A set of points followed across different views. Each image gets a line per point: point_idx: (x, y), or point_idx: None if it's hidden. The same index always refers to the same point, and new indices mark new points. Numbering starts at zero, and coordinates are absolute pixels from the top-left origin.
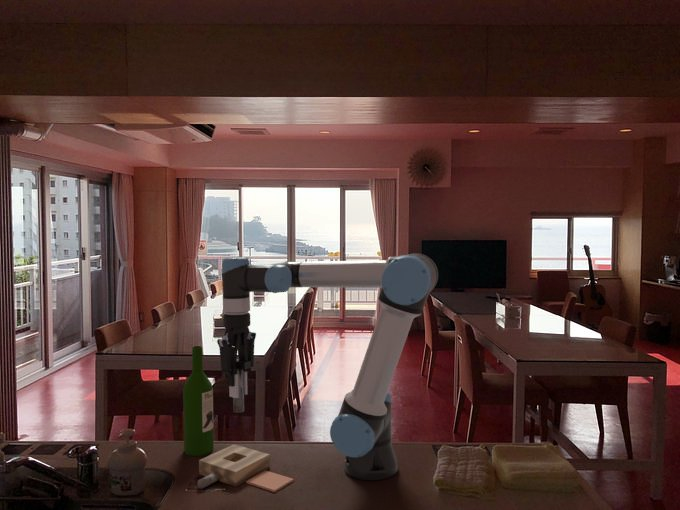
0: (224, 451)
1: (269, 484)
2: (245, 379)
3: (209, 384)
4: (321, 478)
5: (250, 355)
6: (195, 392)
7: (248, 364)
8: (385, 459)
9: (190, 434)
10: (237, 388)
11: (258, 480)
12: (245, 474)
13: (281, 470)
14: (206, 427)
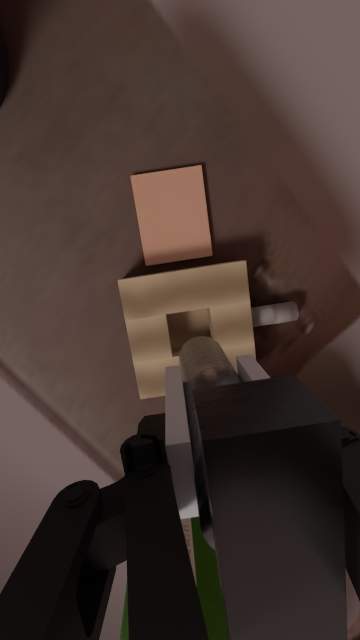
0: None
1: (189, 199)
2: (184, 406)
3: None
4: (72, 131)
5: (49, 636)
6: (219, 613)
7: (241, 409)
8: None
9: None
10: (257, 375)
11: (192, 235)
12: (208, 265)
13: (112, 245)
14: None
